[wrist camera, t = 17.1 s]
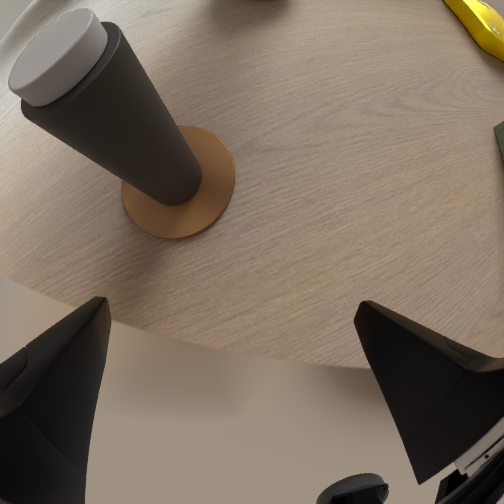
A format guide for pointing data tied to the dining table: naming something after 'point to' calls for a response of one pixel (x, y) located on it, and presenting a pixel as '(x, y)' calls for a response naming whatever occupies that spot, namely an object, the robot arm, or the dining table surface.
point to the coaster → (200, 205)
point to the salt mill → (104, 105)
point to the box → (500, 136)
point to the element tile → (481, 24)
